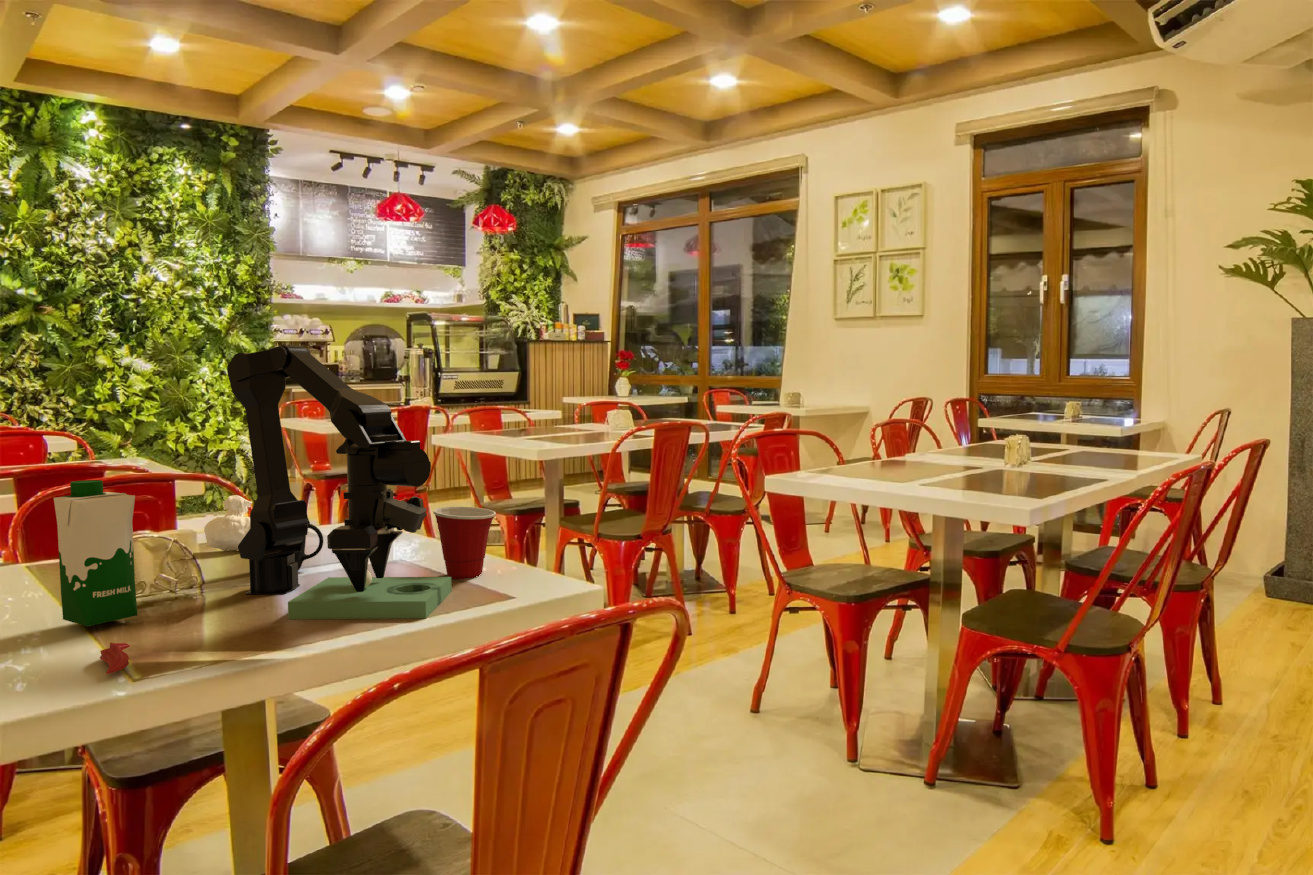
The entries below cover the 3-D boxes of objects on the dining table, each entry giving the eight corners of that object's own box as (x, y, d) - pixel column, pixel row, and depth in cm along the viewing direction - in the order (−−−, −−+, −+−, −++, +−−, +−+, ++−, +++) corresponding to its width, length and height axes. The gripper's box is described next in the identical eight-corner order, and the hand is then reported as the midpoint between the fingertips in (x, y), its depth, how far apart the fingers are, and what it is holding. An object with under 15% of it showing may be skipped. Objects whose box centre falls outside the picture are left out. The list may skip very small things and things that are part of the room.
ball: (347, 591, 135) (346, 570, 135) (354, 586, 139) (353, 565, 138) (368, 591, 135) (367, 570, 135) (374, 586, 139) (374, 565, 138)
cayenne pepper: (111, 647, 118) (110, 633, 117) (149, 644, 119) (149, 630, 119) (76, 676, 106) (75, 660, 106) (119, 673, 107) (118, 657, 107)
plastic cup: (491, 583, 151) (489, 513, 150) (427, 584, 151) (425, 514, 150) (502, 570, 162) (501, 504, 161) (442, 570, 162) (441, 504, 161)
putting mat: (288, 618, 129) (287, 601, 129) (329, 592, 145) (328, 577, 145) (425, 618, 129) (425, 601, 129) (451, 591, 145) (451, 576, 145)
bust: (194, 554, 178) (192, 498, 177) (213, 547, 185) (211, 493, 185) (255, 553, 178) (253, 497, 177) (271, 546, 186) (269, 493, 185)
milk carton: (115, 607, 136) (109, 477, 135) (147, 615, 132) (141, 480, 130) (52, 620, 129) (45, 483, 128) (84, 629, 124) (77, 487, 123)
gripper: (402, 490, 127) (405, 599, 128) (435, 476, 145) (438, 571, 146) (324, 491, 127) (327, 599, 128) (367, 477, 145) (370, 571, 146)
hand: (370, 584), depth 137 cm, fingers open, 9 cm apart
